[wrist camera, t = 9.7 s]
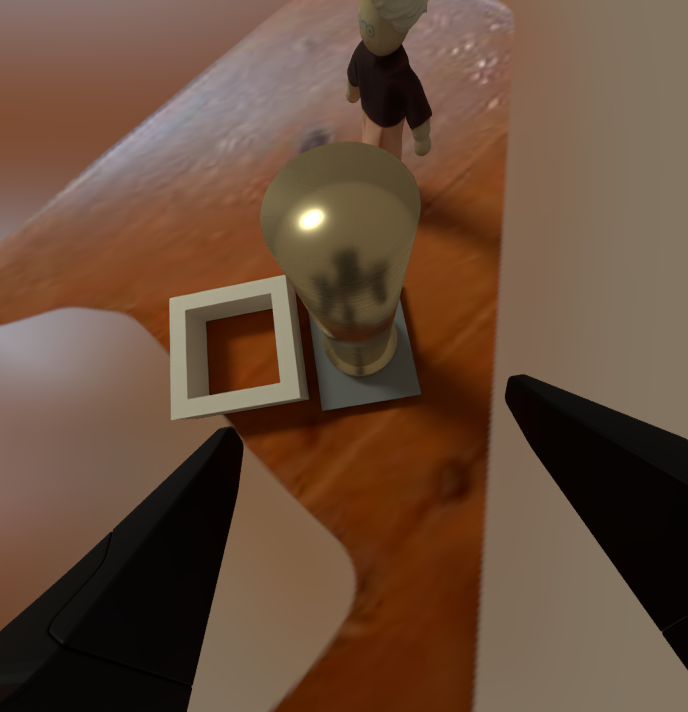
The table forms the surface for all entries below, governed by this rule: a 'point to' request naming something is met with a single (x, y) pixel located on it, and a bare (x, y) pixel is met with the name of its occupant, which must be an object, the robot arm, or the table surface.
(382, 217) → the light bulb
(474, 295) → the table surface
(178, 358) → the socket
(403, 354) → the slate pad
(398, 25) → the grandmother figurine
